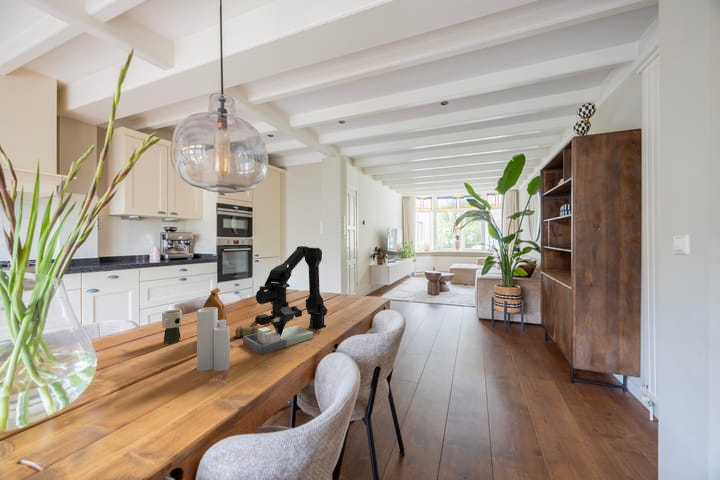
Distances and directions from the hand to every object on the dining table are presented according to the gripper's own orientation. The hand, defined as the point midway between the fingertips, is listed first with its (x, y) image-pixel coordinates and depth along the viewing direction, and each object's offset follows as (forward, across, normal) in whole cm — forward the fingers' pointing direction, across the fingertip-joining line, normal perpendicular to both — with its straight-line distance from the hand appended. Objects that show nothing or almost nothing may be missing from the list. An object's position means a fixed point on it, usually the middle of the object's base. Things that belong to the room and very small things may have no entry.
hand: (279, 336), depth 122 cm
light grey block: (+1, -1, 0) cm, 1 cm away
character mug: (+4, -31, +36) cm, 48 cm away
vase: (+4, -26, -2) cm, 26 cm away
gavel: (+4, 0, +27) cm, 28 cm away
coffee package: (+4, -17, +26) cm, 31 cm away
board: (+4, +8, +4) cm, 10 cm away
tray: (+4, -5, +4) cm, 7 cm away
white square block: (+1, -1, +8) cm, 8 cm away
